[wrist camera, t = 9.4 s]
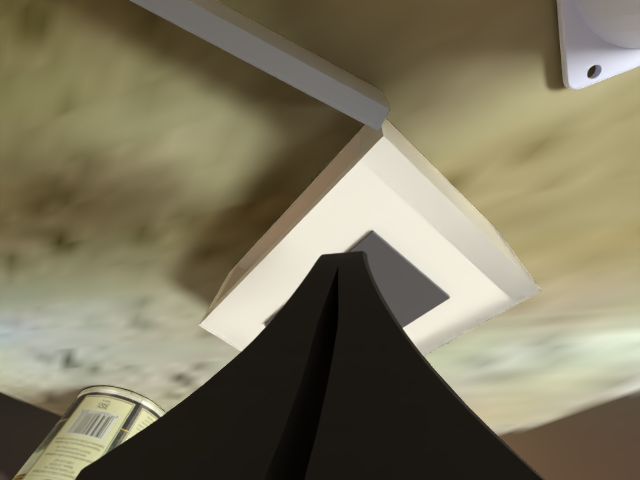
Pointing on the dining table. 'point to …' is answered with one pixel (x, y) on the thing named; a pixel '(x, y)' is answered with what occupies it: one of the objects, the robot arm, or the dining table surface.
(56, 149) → the dining table surface
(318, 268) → the robot arm
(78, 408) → the coffee can
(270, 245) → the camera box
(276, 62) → the side door
